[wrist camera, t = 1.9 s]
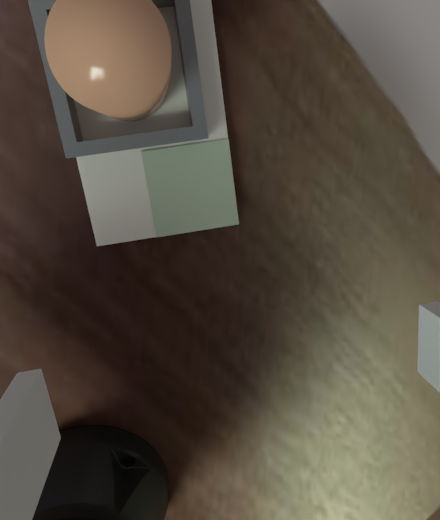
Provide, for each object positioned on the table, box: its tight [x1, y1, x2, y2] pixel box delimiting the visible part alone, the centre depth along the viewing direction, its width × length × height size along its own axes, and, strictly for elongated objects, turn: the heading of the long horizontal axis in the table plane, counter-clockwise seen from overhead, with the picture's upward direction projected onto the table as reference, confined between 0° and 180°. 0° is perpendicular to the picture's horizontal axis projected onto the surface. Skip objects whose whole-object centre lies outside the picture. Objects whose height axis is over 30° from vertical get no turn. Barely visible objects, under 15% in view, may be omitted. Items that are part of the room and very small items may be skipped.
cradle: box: [28, 0, 208, 158], centre depth 30 cm, size 10×10×2 cm
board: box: [74, 0, 239, 246], centre depth 32 cm, size 12×18×1 cm, turn 8°
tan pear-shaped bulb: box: [44, 0, 172, 121], centre depth 26 cm, size 9×6×10 cm
